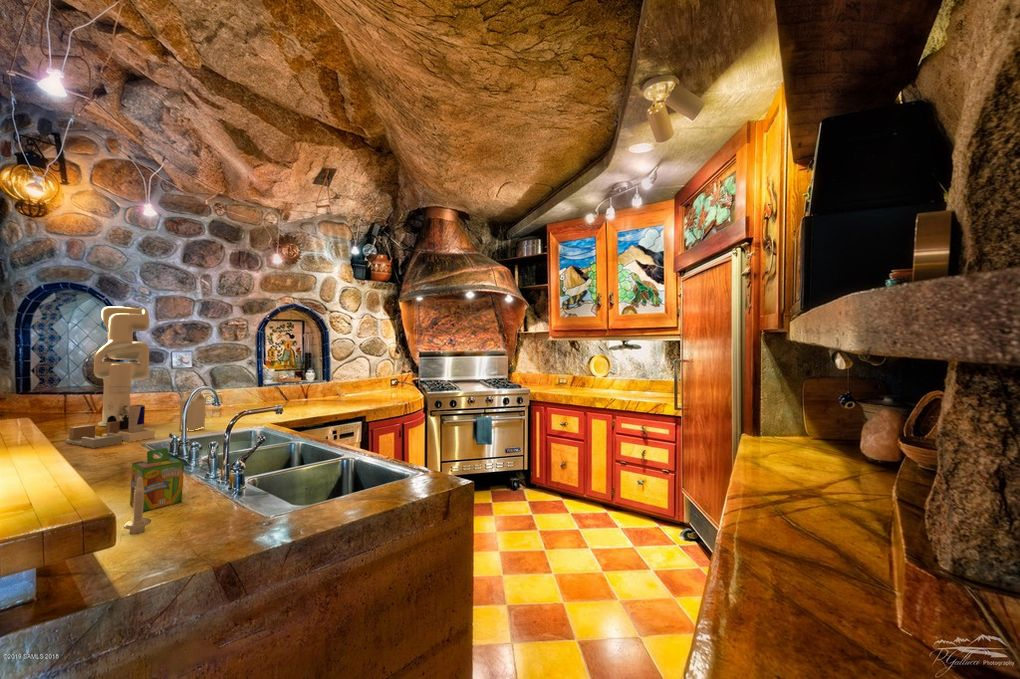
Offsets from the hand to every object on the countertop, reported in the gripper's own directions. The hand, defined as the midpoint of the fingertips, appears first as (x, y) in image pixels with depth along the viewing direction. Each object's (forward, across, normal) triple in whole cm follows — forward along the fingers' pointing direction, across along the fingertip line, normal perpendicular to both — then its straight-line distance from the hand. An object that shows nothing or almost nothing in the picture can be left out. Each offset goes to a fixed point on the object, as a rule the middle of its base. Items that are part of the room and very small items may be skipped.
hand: (117, 428), depth 186 cm
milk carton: (+4, +15, +22) cm, 27 cm away
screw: (+4, +116, -52) cm, 127 cm away
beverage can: (+4, +14, 0) cm, 14 cm away
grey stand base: (+3, +8, -12) cm, 15 cm away
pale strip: (+3, +8, 0) cm, 9 cm away
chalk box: (+4, +101, -40) cm, 109 cm away
